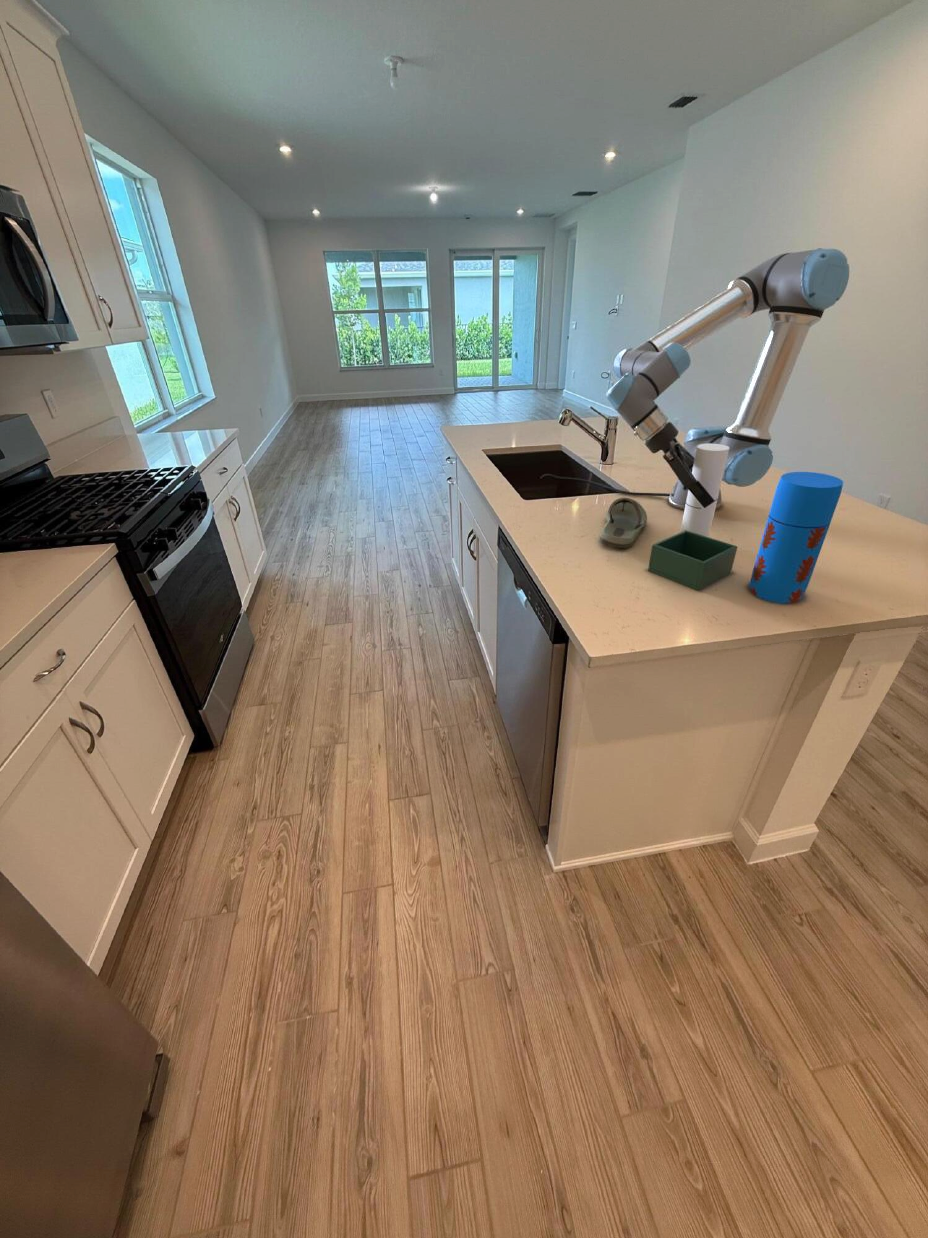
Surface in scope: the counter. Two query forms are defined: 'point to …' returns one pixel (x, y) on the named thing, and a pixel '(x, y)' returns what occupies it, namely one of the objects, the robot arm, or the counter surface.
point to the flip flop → (623, 523)
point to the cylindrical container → (710, 476)
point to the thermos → (794, 535)
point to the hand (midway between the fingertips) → (709, 495)
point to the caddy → (692, 559)
